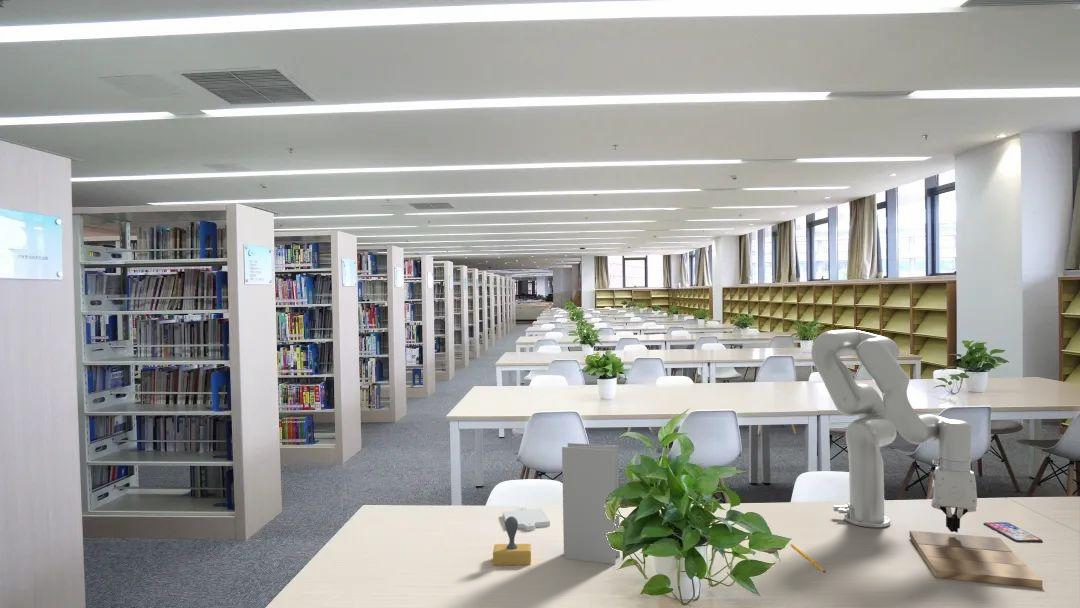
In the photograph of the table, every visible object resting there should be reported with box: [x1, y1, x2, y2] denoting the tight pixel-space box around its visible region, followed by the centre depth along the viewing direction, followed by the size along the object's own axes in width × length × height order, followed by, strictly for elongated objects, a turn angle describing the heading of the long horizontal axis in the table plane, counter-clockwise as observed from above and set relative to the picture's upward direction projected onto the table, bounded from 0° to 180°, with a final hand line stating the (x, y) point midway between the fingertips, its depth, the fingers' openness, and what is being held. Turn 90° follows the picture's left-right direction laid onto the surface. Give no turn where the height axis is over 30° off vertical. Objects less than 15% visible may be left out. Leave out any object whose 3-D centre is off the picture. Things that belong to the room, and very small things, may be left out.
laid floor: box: [917, 544, 1043, 589], centre depth 164 cm, size 22×18×2 cm
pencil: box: [790, 543, 827, 574], centre depth 173 cm, size 1×19×1 cm, turn 4°
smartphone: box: [983, 521, 1044, 543], centre depth 188 cm, size 8×1×15 cm
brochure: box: [561, 442, 621, 565], centre depth 175 cm, size 14×6×30 cm, turn 71°
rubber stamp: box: [492, 516, 532, 566], centre depth 174 cm, size 10×6×12 cm, turn 90°
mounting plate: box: [502, 507, 551, 532], centre depth 205 cm, size 18×13×2 cm
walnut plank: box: [909, 530, 1013, 552], centre depth 177 cm, size 22×9×2 cm, turn 72°
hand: (952, 530), depth 180 cm, fingers closed
